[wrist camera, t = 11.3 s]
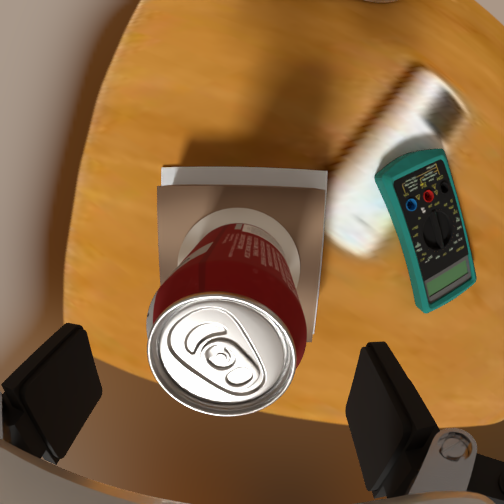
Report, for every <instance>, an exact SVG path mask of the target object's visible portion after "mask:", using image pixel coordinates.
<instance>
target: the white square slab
mask: <svg viewBox="0 0 504 504" xmlns="http://www.w3.org/2000/svg"><path fill="white" fill-rule="evenodd" d="M327 173H328V171H320V170H305V169H288V168H264V167H162V168H161V186H164V185H181V184H218V185H263V186H288V187H307V188H318V189H323V190H325V208H324V224H323V238H322V250H321V262H320V273H319V283H318V293H317V302H316V311H315V319H314V327H313V334H314V329H315V321H316V313H317V304H318V295H319V286H320V276H321V265H322V254H323V241H324V228H325V213H326V195H327Z"/></svg>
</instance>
